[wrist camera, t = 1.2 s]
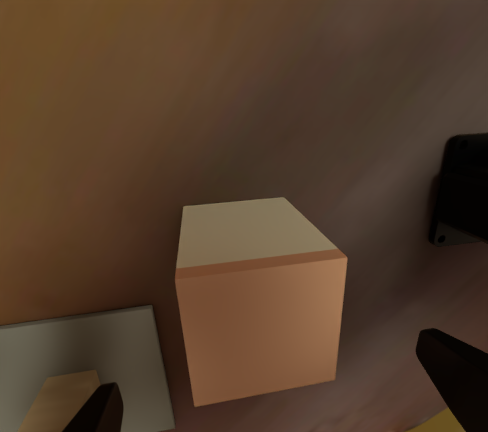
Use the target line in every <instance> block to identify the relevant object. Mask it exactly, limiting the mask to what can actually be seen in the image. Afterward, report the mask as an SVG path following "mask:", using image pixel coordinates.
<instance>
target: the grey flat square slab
mask: <svg viewBox="0 0 488 432" xmlns="http://www.w3.org/2000/svg"><path fill="white" fill-rule="evenodd" d="M112 382H116V383H117V384H118V386H119V390H120V393H121V397H122V400H123V405H124V411H123V419H122V426H121V432H159V431H164V430H169V429H174V428H175V419H174V414H173V408H172V403H171V398H170V393H169V388H168V383H167V378H166V373H165V368H164V363H163V358H162V353H161V347H160V342H159V337H158V332H157V327H156V322H155V317H154V312H153V307H152V305H147V306H140V307H133V308H126V309H118V310H111V311H104V312H97V313H90V314H82V315H75V316H68V317H61V318H54V319H46V320H39V321H32V322H25V323H18V324H10V325H3V326H0V432H62V430H63V429H64V428H65V427H66V426H67V424H68V423H69V422H70V421H71V419H72V418H73V417H74V416H75V415H76V413H77V412H78V411H79V410H80V408H81V407H82V406H83V405H84V403H85V402H86V401H87V400H88V399H89V397H90V396H91V395H92V394H93V392H94V391H95V390H96V389H97V388H98V387H99V386H100V385H101V384H106V383H112Z"/></svg>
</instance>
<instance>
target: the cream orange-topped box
mask: <svg viewBox="0 0 488 432" xmlns="http://www.w3.org/2000/svg"><path fill="white" fill-rule="evenodd" d="M346 268H347V257H346V256H345V255H344V254H343V253H342V252H341V251H340V250H339V249H338V248H337V247H336V246H335V245H334V244H333V243H332V242H331V241H330V240H328V239H327V238H326V237H325V236H324V235H323V234H322V233H321V232H320V231H319V230H318V229H317V228H316V227H315V226H314V225H313V224H312V223H310V222H309V221H308V220H307V219H306V218H305V217H304V216H303V215H302V214H301V213H300V212H299V211H298V210H297V209H296V208H295V207H294V206H292V205H291V204H290V203H289V202H288V201H287V200H286V199H285V198H284V197H279V198H269V199H258V200H247V201H236V202H225V203H214V204H204V205H193V206H183V215H182V223H181V231H180V240H179V248H178V257H177V265H176V274H175V284H176V291H177V297H178V304H179V310H180V317H181V323H182V330H183V336H184V342H185V349H186V355H187V362H188V368H189V375H190V381H191V388H192V394H193V400H194V407H198V406H203V405H208V404H213V403H218V402H224V401H229V400H234V399H239V398H244V397H249V396H255V395H260V394H265V393H270V392H275V391H281V390H286V389H291V388H296V387H301V386H306V385H312V384H317V383H322V382H327V381H332V380H335V376H336V366H337V356H338V346H339V336H340V327H341V317H342V307H343V297H344V287H345V278H346Z"/></svg>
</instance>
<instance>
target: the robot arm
mask: <svg viewBox="0 0 488 432" xmlns="http://www.w3.org/2000/svg"><path fill="white" fill-rule="evenodd" d="M460 143H461V146H460V147H459V145H460ZM438 238H439V239H438ZM429 241H430V243H432V244H434V245H436V246H438V247H441V246H449V245H457V244H464V243H472V242H480V241H482V242H485V243H487V244H488V133H477V134H462V135H456V136H455V137H453V138H452V140H451V141H450V143H449V147H448V151H447V156H446V161H445V165H444V170H443V175H442V179H441V184H440V189H439V193H438V198H437V203H436V207H435V212H434V217H433V221H432V226H431V230H430V235H429ZM416 355H417V357H418V359H419V361H420V362H421V364H422V366H423V367H424V369H425V370H426V372H427V374H428V375H429V377H430V379H431V380H432V382H433V383H434V385H435V387H436V388H437V390H438V391H439V393H440V395H441V396H442V398H443V400H444V401H445V403H446V404H447V406H448V407H449V409H450V410H451V412H452V413H453V415H454V416H455V417H456V419H457V420H458V422H459V423H460V424H461V425H462V427H463V429H464V430H465V431H466V432H488V354H487V353H485V352H483V351H481V350H479V349H477V348H475V347H473V346H471V345H469V344H467V343H465V342H463V341H460V340H458V339H456V338H454V337H452V336H450V335H448V334H446V333H444V332H442V331H440V330H438V329H435V328H431V329H425V330H421V331H420V333H419V337H418V342H417V346H416ZM123 411H124V405H123V400H122V397H121V393H120V390H119V386H118V384H117V383H116V382H112V383H106V384H101V385H100V386H99V387H98V388H97V389H96V390H95V391H94V392H93V394H92V395H91V396H90V397H89V399H88V400H87V401H86V402H85V403H84V405H83V406H82V407H81V408H80V410H79V411H78V412H77V413H76V415H75V416H74V417H73V418H72V419H71V421H70V422H69V423H68V424H67V426H66V427H65V428H64V429H63V430H62V432H121V426H122V419H123Z"/></svg>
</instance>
